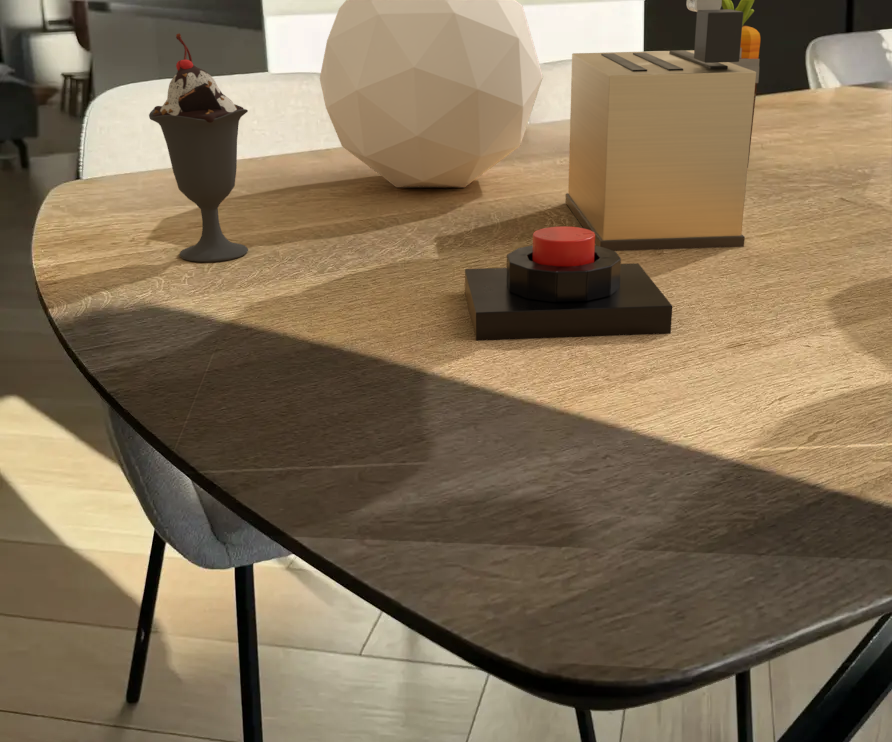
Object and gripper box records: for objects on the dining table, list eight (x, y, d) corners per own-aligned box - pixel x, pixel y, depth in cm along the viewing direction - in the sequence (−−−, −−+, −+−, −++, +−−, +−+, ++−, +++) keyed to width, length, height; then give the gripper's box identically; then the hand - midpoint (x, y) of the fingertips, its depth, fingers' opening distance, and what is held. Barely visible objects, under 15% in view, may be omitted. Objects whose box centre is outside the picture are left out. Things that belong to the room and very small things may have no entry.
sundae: (199, 239, 85) (175, 30, 79) (276, 245, 83) (258, 31, 77) (148, 261, 80) (118, 38, 73) (229, 268, 77) (205, 39, 71)
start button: (588, 254, 67) (589, 225, 66) (599, 270, 64) (600, 240, 63) (528, 256, 67) (529, 227, 66) (536, 272, 64) (536, 242, 63)
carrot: (702, 137, 123) (712, -10, 117) (710, 130, 127) (721, -12, 121) (747, 139, 121) (761, -10, 115) (755, 132, 125) (768, -12, 119)
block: (637, 289, 71) (640, 234, 70) (670, 334, 63) (674, 274, 61) (464, 295, 71) (464, 240, 69) (476, 341, 62) (475, 280, 61)
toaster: (686, 199, 95) (697, 47, 90) (744, 247, 80) (760, 68, 75) (565, 202, 94) (569, 50, 89) (600, 252, 79) (607, 72, 74)
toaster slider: (727, 57, 79) (731, 9, 77) (739, 62, 76) (743, 11, 75) (693, 58, 79) (696, 10, 77) (704, 62, 76) (708, 12, 75)
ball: (397, 268, 102) (251, 97, 91) (422, 153, 116) (298, -8, 105) (578, 173, 93) (440, -30, 82) (582, 60, 107) (464, -126, 96)
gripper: (817, -232, 66) (794, 19, 71) (720, -194, 84) (708, 2, 90) (711, -228, 65) (697, 23, 71) (637, -191, 84) (631, 6, 90)
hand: (703, 11), depth 81 cm, fingers closed
